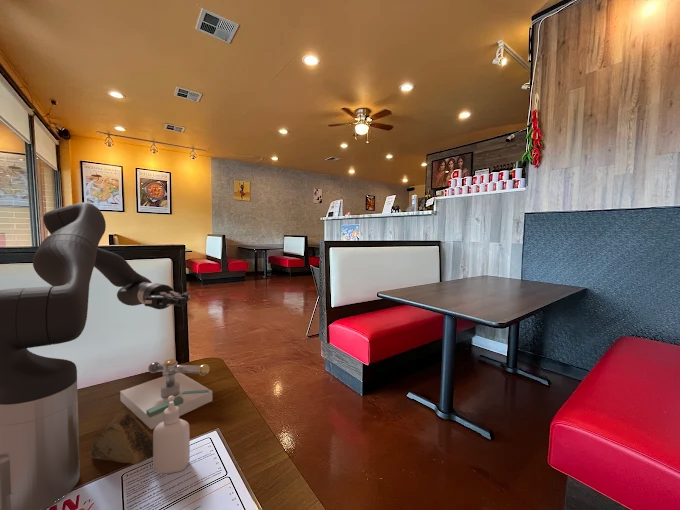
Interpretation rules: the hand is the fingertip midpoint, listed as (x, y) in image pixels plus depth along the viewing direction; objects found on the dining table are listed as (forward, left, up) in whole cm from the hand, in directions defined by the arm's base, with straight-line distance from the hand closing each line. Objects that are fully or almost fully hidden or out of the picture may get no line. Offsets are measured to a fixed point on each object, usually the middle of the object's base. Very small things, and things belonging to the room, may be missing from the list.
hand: (183, 302), depth 79 cm
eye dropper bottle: (-15, -28, -24) cm, 40 cm away
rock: (-19, -18, -24) cm, 36 cm away
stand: (-6, -5, -23) cm, 25 cm away
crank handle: (-5, -9, -19) cm, 21 cm away
